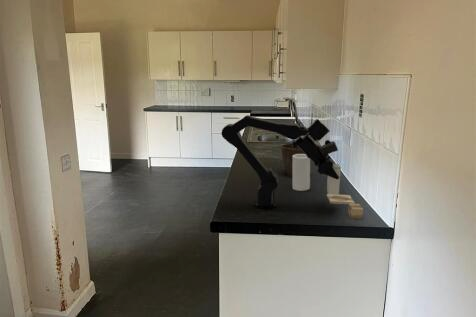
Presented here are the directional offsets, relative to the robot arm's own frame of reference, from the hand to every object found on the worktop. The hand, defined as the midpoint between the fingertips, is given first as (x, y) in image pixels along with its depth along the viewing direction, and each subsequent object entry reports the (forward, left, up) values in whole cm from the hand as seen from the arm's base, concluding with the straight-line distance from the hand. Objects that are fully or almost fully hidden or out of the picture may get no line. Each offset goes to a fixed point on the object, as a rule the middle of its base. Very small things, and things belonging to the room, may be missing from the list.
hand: (337, 176), depth 141 cm
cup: (+11, +27, -14) cm, 32 cm away
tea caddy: (-1, +1, -7) cm, 7 cm away
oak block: (0, -9, -14) cm, 17 cm away
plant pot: (+27, +45, -14) cm, 54 cm away
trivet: (+11, +5, -14) cm, 18 cm away
